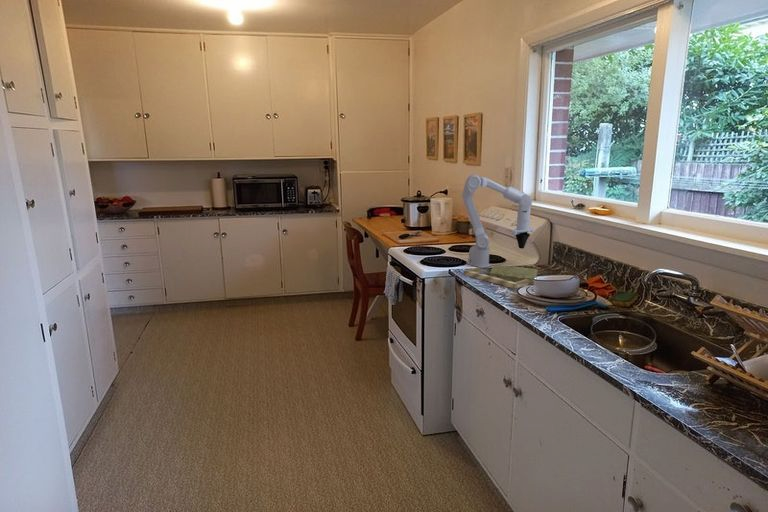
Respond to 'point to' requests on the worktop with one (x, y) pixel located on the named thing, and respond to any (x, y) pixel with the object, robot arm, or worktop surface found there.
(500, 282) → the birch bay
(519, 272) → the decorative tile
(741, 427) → the worktop surface
